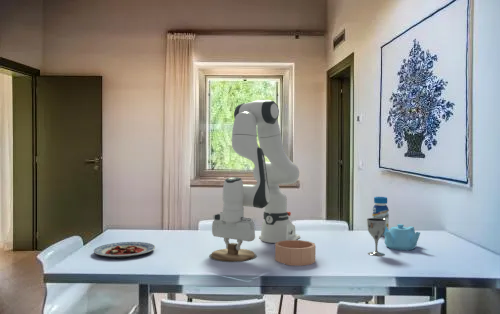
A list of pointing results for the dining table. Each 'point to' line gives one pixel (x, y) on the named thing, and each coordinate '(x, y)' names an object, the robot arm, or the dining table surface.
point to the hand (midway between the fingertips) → (233, 249)
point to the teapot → (401, 237)
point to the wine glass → (376, 232)
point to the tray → (232, 261)
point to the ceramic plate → (124, 249)
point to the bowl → (295, 252)
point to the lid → (233, 254)
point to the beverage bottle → (381, 209)
